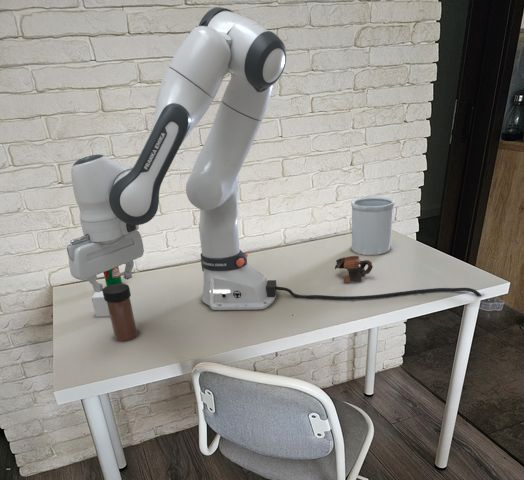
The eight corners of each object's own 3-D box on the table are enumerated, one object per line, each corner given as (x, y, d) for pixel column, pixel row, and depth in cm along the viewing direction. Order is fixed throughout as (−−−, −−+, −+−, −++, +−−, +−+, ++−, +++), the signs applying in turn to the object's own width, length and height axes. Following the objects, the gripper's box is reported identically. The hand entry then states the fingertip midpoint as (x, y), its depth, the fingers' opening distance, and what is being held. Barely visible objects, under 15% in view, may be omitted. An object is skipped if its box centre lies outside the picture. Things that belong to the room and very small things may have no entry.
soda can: (118, 289, 155) (110, 254, 149) (104, 289, 156) (95, 253, 150) (125, 283, 159) (117, 248, 153) (111, 283, 160) (103, 248, 154)
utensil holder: (367, 258, 167) (370, 208, 159) (341, 248, 179) (343, 200, 170) (399, 250, 173) (404, 201, 164) (372, 240, 185) (375, 194, 176)
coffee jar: (141, 331, 128) (132, 286, 122) (130, 342, 123) (120, 295, 117) (122, 329, 130) (112, 285, 123) (110, 340, 125) (99, 294, 118)
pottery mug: (334, 285, 150) (330, 259, 150) (340, 287, 158) (337, 263, 158) (373, 277, 145) (368, 250, 145) (377, 280, 154) (373, 255, 154)
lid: (135, 292, 123) (133, 284, 122) (122, 303, 117) (120, 294, 116) (113, 291, 124) (111, 282, 123) (99, 301, 119) (97, 293, 118)
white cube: (102, 308, 143) (98, 289, 140) (122, 307, 143) (118, 288, 140) (95, 316, 138) (91, 297, 135) (116, 316, 138) (111, 296, 135)
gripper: (74, 243, 103) (88, 302, 110) (143, 220, 118) (151, 273, 125) (56, 240, 106) (71, 297, 113) (125, 218, 121) (134, 269, 128)
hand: (113, 284), depth 119 cm, fingers open, 8 cm apart
